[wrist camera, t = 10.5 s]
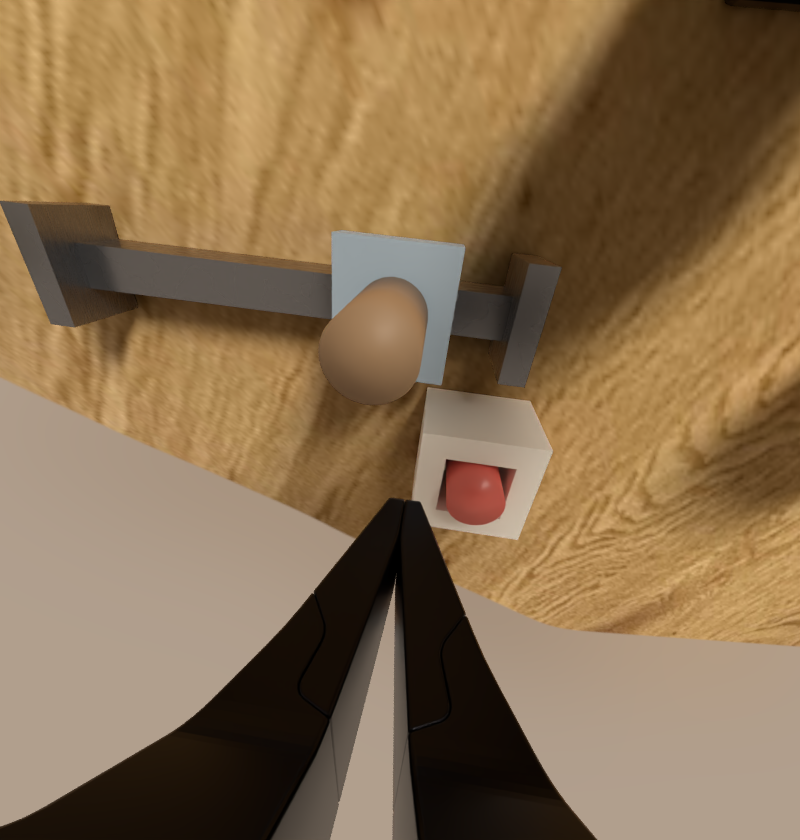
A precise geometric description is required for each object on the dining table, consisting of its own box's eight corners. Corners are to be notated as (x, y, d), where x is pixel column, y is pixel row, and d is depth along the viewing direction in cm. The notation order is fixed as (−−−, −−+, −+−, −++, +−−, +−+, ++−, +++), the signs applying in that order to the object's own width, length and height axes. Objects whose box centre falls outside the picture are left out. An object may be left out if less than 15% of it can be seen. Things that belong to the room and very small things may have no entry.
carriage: (460, 240, 16) (475, 264, 9) (441, 354, 19) (440, 449, 11) (354, 227, 17) (276, 241, 9) (351, 342, 19) (291, 428, 12)
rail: (537, 256, 17) (561, 267, 13) (510, 356, 19) (524, 387, 16) (86, 202, 18) (-1, 200, 14) (117, 304, 20) (50, 324, 17)
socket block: (530, 401, 20) (553, 451, 16) (504, 479, 23) (517, 539, 19) (427, 387, 21) (422, 432, 16) (415, 467, 24) (408, 523, 19)
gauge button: (500, 438, 20) (512, 486, 16) (489, 477, 21) (497, 528, 18) (450, 431, 20) (451, 477, 16) (442, 470, 21) (442, 520, 18)
